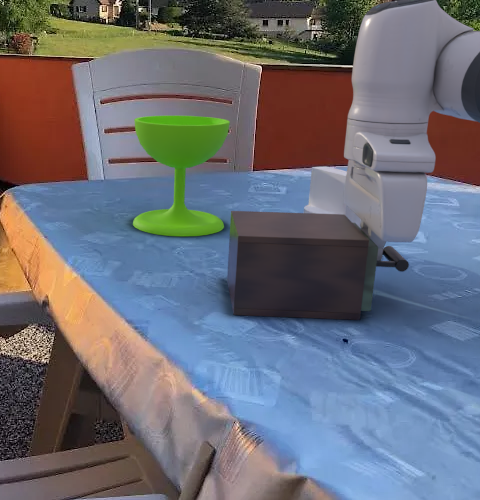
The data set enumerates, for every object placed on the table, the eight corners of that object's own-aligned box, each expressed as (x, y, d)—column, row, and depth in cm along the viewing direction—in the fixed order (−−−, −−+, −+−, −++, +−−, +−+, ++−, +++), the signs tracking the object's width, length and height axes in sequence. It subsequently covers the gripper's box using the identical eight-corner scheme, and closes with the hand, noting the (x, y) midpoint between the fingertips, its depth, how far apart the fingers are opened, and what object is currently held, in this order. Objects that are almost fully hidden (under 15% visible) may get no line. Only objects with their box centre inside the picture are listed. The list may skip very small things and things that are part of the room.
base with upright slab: (372, 251, 110) (381, 174, 107) (326, 257, 106) (334, 178, 103) (332, 236, 118) (340, 165, 114) (289, 242, 114) (295, 168, 110)
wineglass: (205, 241, 114) (211, 128, 108) (116, 228, 120) (117, 121, 115) (236, 220, 127) (242, 119, 122) (154, 210, 134) (157, 113, 129)
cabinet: (337, 284, 94) (344, 214, 91) (360, 320, 82) (369, 240, 79) (226, 280, 95) (230, 210, 92) (233, 315, 83) (238, 235, 80)
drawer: (383, 281, 93) (391, 223, 91) (410, 312, 82) (419, 248, 80) (245, 276, 94) (249, 219, 92) (253, 306, 83) (258, 242, 81)
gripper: (338, 133, 93) (327, 235, 96) (379, 157, 73) (364, 284, 77) (387, 134, 92) (374, 237, 96) (442, 159, 73) (424, 286, 77)
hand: (370, 258), depth 86 cm, fingers closed
